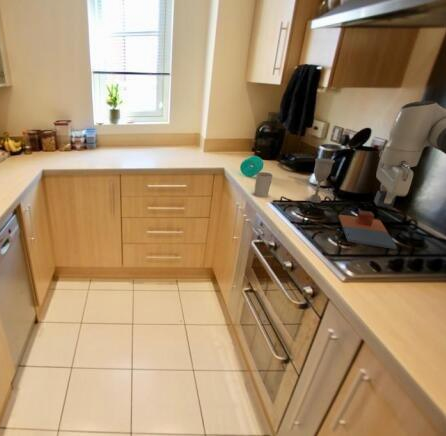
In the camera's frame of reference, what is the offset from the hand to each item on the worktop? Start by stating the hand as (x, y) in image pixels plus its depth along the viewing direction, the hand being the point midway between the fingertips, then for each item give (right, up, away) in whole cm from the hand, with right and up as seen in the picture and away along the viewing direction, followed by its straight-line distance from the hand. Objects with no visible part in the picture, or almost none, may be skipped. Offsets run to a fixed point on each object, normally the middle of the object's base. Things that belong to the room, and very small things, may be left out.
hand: (384, 200), depth 102 cm
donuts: (-13, +18, +74) cm, 77 cm away
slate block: (0, -1, +1) cm, 2 cm away
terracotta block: (+4, -8, +14) cm, 16 cm away
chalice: (+1, +2, +38) cm, 38 cm away
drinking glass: (-20, +5, +45) cm, 49 cm away
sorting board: (+1, -11, +10) cm, 15 cm away
